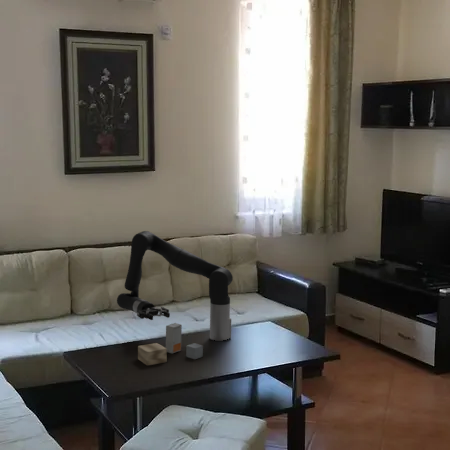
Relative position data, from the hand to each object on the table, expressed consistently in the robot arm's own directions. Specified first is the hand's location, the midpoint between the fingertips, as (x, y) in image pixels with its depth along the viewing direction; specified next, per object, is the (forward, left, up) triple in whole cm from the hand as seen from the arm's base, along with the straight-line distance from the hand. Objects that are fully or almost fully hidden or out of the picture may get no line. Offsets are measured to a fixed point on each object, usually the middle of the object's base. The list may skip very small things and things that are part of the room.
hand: (160, 316), depth 312 cm
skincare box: (0, +11, -13) cm, 17 cm away
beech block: (+14, +17, -13) cm, 26 cm away
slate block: (-4, +22, -13) cm, 26 cm away
